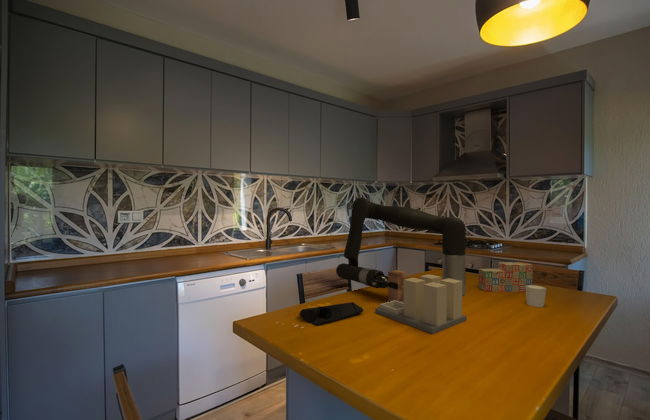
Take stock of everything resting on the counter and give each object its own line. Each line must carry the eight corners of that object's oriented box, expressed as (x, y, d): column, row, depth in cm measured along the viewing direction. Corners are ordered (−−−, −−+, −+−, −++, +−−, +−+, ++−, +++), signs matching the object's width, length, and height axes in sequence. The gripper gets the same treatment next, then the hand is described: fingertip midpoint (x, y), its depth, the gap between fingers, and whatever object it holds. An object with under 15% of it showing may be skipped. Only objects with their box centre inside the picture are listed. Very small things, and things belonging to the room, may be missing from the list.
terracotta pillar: (396, 299, 133) (396, 270, 133) (406, 301, 129) (406, 272, 129) (388, 301, 130) (388, 271, 130) (397, 304, 126) (397, 273, 126)
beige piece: (527, 306, 123) (527, 288, 123) (523, 301, 130) (523, 284, 130) (548, 308, 121) (548, 289, 121) (543, 303, 127) (543, 285, 127)
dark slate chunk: (369, 317, 113) (369, 304, 113) (313, 328, 103) (313, 313, 102) (346, 305, 126) (346, 293, 126) (294, 314, 116) (294, 301, 116)
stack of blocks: (484, 291, 144) (485, 264, 144) (478, 288, 150) (478, 262, 150) (533, 292, 144) (533, 264, 144) (524, 288, 150) (524, 262, 150)
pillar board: (409, 302, 128) (409, 269, 127) (466, 320, 108) (466, 280, 108) (375, 312, 116) (375, 275, 116) (432, 334, 97) (432, 289, 97)
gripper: (359, 271, 136) (390, 278, 123) (382, 267, 145) (413, 273, 131) (359, 288, 136) (390, 298, 123) (382, 283, 145) (413, 292, 131)
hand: (402, 285), depth 127 cm, fingers closed on terracotta pillar, 5 cm apart
